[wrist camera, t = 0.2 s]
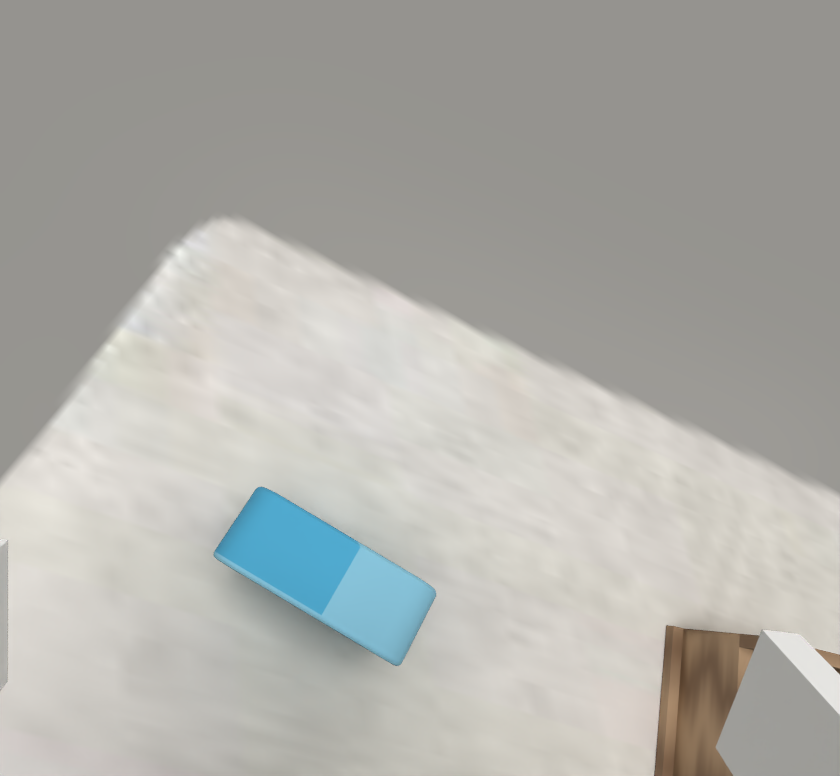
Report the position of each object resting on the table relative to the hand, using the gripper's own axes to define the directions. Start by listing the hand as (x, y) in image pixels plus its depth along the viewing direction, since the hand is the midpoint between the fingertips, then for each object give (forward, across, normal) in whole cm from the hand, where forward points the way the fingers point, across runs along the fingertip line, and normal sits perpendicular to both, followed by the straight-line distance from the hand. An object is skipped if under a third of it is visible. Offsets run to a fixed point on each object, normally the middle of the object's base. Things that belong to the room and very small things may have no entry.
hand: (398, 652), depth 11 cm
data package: (+30, +1, +19) cm, 36 cm away
